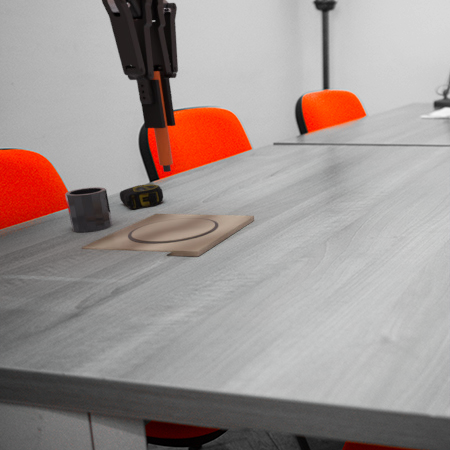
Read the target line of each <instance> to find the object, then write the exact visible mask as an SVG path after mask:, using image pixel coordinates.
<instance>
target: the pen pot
mask: <svg viewBox="0 0 450 450" xmlns="http://www.w3.org/2000/svg"><path fill="white" fill-rule="evenodd" d="M64 196H65V200H66V201H65V202H66V206H67V210H68V216H69V220H70V225H71V231H73V232H74V233H77V234H78V233H79V234H80V233H82V234H83V233H85V234H87V233H95V232H100V231H103V230H104V231H105V230H106V229H109V228H111V227H112V226H113V220H112V214H111V209H110V203H109V202H110V201H109V198H108V193H107V188H106V187H99V186H97V187H95V186H94V187H83V188H78V189H73V190H72V189H71V190H70V191H66V193H64Z"/></svg>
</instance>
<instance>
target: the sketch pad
mask: <svg viewBox="0 0 450 450" xmlns="http://www.w3.org/2000/svg"><path fill="white" fill-rule="evenodd" d="M254 221H255V216H254V215H238V214H237V215H236V214H235V215H232V214H191V213H190V214H187V213H186V214H184V213H154V214H152V215H150V216H148V217H145V218H143V219H141V220H139V221H136V222H135V223H132V224H130V225H127V226H125V227H124V228H121V229H119V230H117V231H115V232H112V233H110V234H107V235H105V236H103V237H101V238H99V239H97V240H95V241H91V242H90V243H88V244H86V245H83V246H82V247H81V250H99V251H100V250H102V251H103V250H104V251H130V252H131V251H133V252H158V253H159V252H160V253H161V252H162V253H167V254H166V256H171V257H172V256H174V257H197V258H199V257H200V256H202V255H203V254H205V253H207V252H208V251H209V250H210V249H212V248H214V247H215V246H217V245H218V244H220V243H221V242H223V241H225V240H226V239H228V238H230V237H231V236H233V235H234V234H236V233H237V232H238V231H240V230H242V229H243V228H245V227H246V226H248V225H249V224H251V223H252V222H254Z"/></svg>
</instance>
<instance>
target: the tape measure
mask: <svg viewBox="0 0 450 450" xmlns="http://www.w3.org/2000/svg"><path fill="white" fill-rule="evenodd" d="M119 198H120V199H119V200H120V201H121V202H122V204H124V205H126V206H127V207H128V208H129V209H131V210H137V209H143V208H144V209H145V208H150V207H155V206H158V205H160V204H161V203H162V202H163V199H164V193H163V190H162V188H161V186H160V185H158V184H154V183H153V184H151V183H150V184H149V183H148V184H139V185H135V186H132V187H131V186H130V187H129V188H126V189H123V190H120V192H119Z"/></svg>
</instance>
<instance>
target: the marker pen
mask: <svg viewBox="0 0 450 450" xmlns="http://www.w3.org/2000/svg"><path fill="white" fill-rule="evenodd" d="M151 80H159V85H160V91H161V98H162V105H163V112H164V118H165V125H166V128H153V131H154V138H155V145H156V150H157V157H158V163H159V166H161V167H162V168H163V169H162V170H163V172H164V173H168V172H169V173H170V172H172V169H171V166H172V165H174V161H173V155H172V148H171V147H172V146H171V140H170V134H169V126H167V120H166V113H165V106H164V99H163V92H162V85H161V79H160V72H159V71H154V78H153V79H151Z"/></svg>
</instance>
